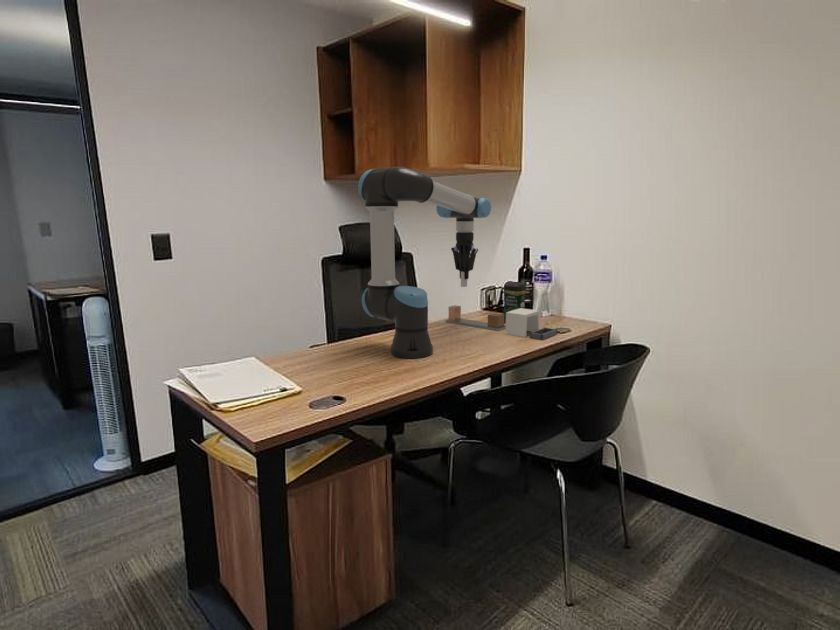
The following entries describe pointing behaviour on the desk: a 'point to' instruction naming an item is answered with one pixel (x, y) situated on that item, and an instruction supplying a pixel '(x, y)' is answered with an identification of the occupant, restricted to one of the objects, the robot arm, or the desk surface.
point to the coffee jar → (514, 296)
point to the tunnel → (522, 321)
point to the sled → (493, 321)
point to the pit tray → (543, 333)
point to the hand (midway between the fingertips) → (463, 286)
